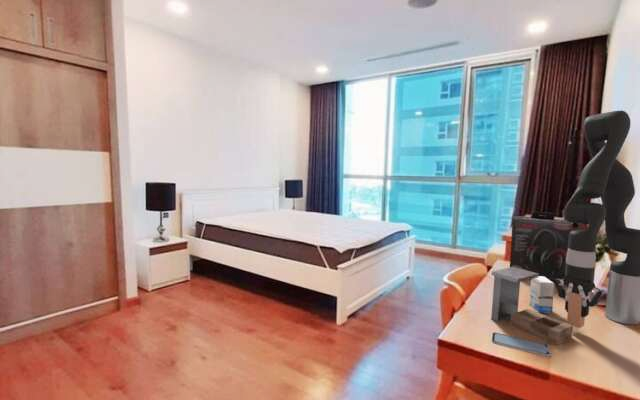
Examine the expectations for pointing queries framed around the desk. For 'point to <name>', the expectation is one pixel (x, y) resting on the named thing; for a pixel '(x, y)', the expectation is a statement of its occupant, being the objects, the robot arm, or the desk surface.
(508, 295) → the panel
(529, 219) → the headset box
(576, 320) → the peg
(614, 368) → the desk surface
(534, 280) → the ink box
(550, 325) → the socket block
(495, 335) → the smartphone
